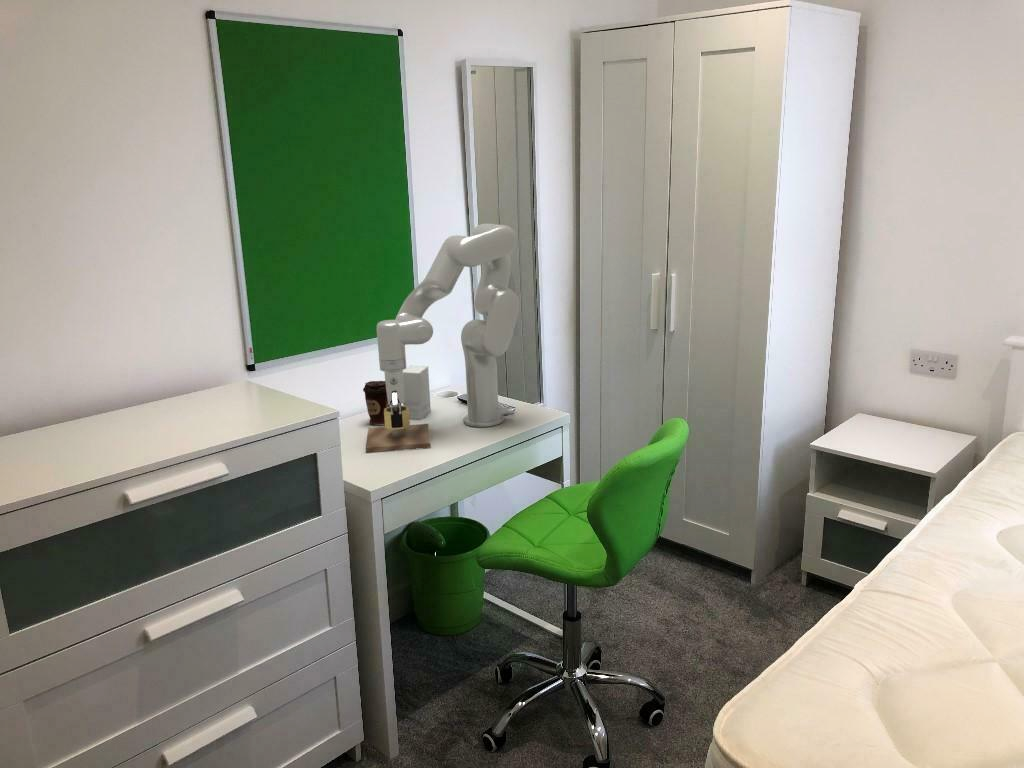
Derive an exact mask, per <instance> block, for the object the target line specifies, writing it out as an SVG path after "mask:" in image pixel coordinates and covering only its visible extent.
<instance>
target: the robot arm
mask: <svg viewBox="0 0 1024 768" xmlns="http://www.w3.org/2000/svg"><path fill="white" fill-rule="evenodd" d="M517 243H518V238H517V234H516V232H515V230H514V229H513V228H512V227H510V226H508V225H505V224H496V223H481V224H478V225H477V226H476V227H474V230H473V232H472V235H470V236H467V235H457V234H456V235H451V236H448V237H447V238H446V239H445V240H444V242H443V243H442V244H441V246H440V248H439V251H438V252H437V255H436V257H435V259H434V260H433V262H432V264H431V266H430V268H429V270H428V271H427V274H425V275H426V276H425V277H424V279H423V280H422V281H421V282H420V283H419V284H418V285H417V286H416V287H415V288H414V289H413V290H412V291H411V292H410V293H409V294H408V296H407V297H406V298H405V299H404V301H403V303H402V305H401V307H400V309H399V311H398V313H397V314H396V317H395V319H385V320H381V321H378V322H377V324H376V336H377V350H378V362H379V364H378V365H379V371H380V372H383V373H384V381H385V384H386V392H387V399H388V404H389V405H390V406H391V426H392V428H401V427H403V420H402V414H401V405H403V404H405V401H406V398H405V384H404V373H403V370H405V369H406V368H407V357H406V356H407V354H406V345H424V344H425V343H427V342H429V341H430V340H431V339H432V337H433V335H434V329H433V325H432V324H431V322H429V321H428V320H427V319H425V318H423V316H424V314H425V313H426V312H427V310H428V309H429V308H430V307H431V306H432V305H433V304H434V303H436V302H438V301H439V300H442V299H444V298H446V297H447V296H449V295H450V294H451V293H452V291H453V289H454V288H455V286H456V284H457V282H458V279H459V278H460V276H461V274H462V272H463V270H464V268H465V267H466V268H473V267H478V266H482V269H481V273H480V277H479V282H478V285H477V289H476V292H475V297H474V301H473V305H474V309H475V311H476V312H477V313H478V314H479V315H482V316H484V317H487V318H486V320H483V319H472V320H469V321H468V322H467V323H465V324H464V325H463V327H462V329H461V333H460V341H461V345H462V351H463V355H464V366H465V382H466V385H465V386H466V399H467V401H466V402H467V414H466V415H465V416H464V417H463V418H462V420H463V424H464V425H466V426H469V427H473V428H475V427H476V428H486V427H492V426H493V427H494V426H497V425H500V424H502V423H504V421H505V415H506V416H507V415H510V416H511V415H514V414H515V409H514V407H510V408H509V406H504V407H501V406H500V404H499V392H498V391H499V390H498V389H499V388H498V366H497V365H498V364H497V359H496V357H497V358H498V357H500V356H502V355H503V354H505V352H507V350H508V348H509V347H510V345H511V341H512V338H513V334H514V331H515V326H516V323H517V321H518V316H519V312H520V302H519V301H520V300H519V298H518V296H517V293H515V291H514V290H512V289H510V288H508V286H509V281H510V277H511V273H512V271H511V270H512V265H511V264H512V263H511V259H510V255H509V254H511V253H512V252H513V251H514V250H515V248H516V247H517ZM398 406H399V407H398Z"/></svg>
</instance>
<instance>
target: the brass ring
mask: <svg viewBox="0 0 1024 768" xmlns="http://www.w3.org/2000/svg"><path fill="white" fill-rule="evenodd" d="M398 407H399V406H398ZM401 414H402V420H403V427H401V428H392V426H391V405H390V407H387V408H385V409H384V420H385V425H384V427H385V428H387V429H391V430H396V429H404V428H407V427H409V426H410V425H411V423H410V422H411V421H410V420H411V419H409V407H407V406H403V404H401Z"/></svg>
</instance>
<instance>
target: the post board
mask: <svg viewBox="0 0 1024 768" xmlns="http://www.w3.org/2000/svg"><path fill="white" fill-rule="evenodd" d="M428 447H431V437H430V425H429V423H420V424H417V423H416V424H410V426H409V427H407V428H404V429H396V430H391V429H387V428H385V426H379V427H378V426H377V427H368V429H367V437H366V443H365V453H366V454H368V453H381V452H382V453H383V452H394V451H395V450H397V451H405V450H404V449H410V450H417V449H416V448H423V449H429V448H428Z"/></svg>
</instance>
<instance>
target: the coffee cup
mask: <svg viewBox="0 0 1024 768" xmlns="http://www.w3.org/2000/svg"><path fill="white" fill-rule="evenodd" d="M362 392H364V398H365V405H366V408H367V410H366V411H367V414H368V416H369V424H370V425H373V426H385V420H384V409H385V408H387V407H390V406H391V405H389V404H388V399H387V392H386V384H385V380H371V381H367V382H365V385H364V387H363V388H362Z"/></svg>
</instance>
